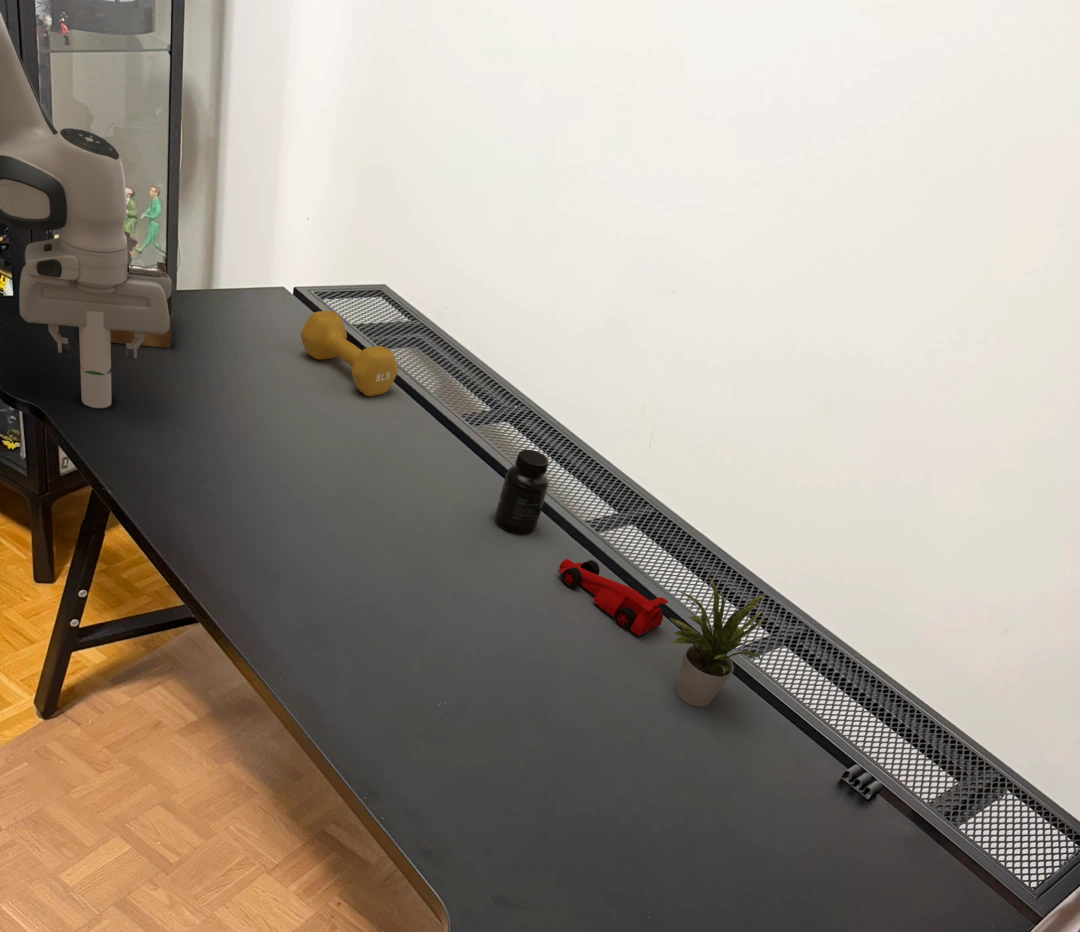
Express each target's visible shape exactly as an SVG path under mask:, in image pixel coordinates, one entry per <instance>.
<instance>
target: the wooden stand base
mask: <svg viewBox="0 0 1080 932" xmlns="http://www.w3.org/2000/svg"><path fill="white" fill-rule="evenodd" d="M156 268H159V269H161V271H162V272H164V273H166V274H167V275H168V271H167V268H166V265H165V262H162V261H156ZM161 276H164V275H162V274H161ZM172 297H173V291H172V292H171V295H170V297H169V298H168V299H167V305H168V311H169V322H170V328H169V330H168V331H167V332H166V333H165V334H155V333H145V339H144V341H143V342H142V344H141V345H140V346H142V347H143V346H145V347H152V348H153V347H154V348H164V349H165V348H166V349H171V344H172V343H171V341H172V339H171V338H172V302H173V301H172ZM110 334H111V344H122V345H126V343H132V341H133V340H134V338H135V335H134V332H132V331H120V330H110Z"/></svg>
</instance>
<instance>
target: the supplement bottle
mask: <svg viewBox="0 0 1080 932" xmlns="http://www.w3.org/2000/svg"><path fill="white" fill-rule="evenodd" d="M549 463H550V462H549V458H548V457H547V456H546V455H545V454H543V453H541V452H539V451H537V450H533V449H522V450H520V451H519V452H518V454H517V456H516V460H515V463H514V465H512V466H510V467H509V468H508V470H506V474H505V477H504V480H503V484H502V488H501V492H500V495H499V500H498V502H497V507H496V511H495V515H494V520H495V523H496V524H497V525H498V526H499V527H500V528H501V529H503V530H504V531H506V532H508V533H510V534H514V535H520V536H523V535H525V536H526V535H528V534H531V533H533V532H534V531H535V530H536V528H537V526H538V523H539V519H540V516H541V512H542V509H543V506H544V503H545V499H546V496H547V492H548V489H549V484H550V483H549V482H550V481H549V478H548V476H547V472H548V467H549Z"/></svg>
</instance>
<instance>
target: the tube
mask: <svg viewBox="0 0 1080 932" xmlns="http://www.w3.org/2000/svg"><path fill="white" fill-rule="evenodd" d="M86 315H87V325H86V327H78V340H79V341H78V342H79V343H78V344H79V369H80V394H81V402H82V403H83V404H84V405H85V406H87V407H90V408H93V409H105V408H108V407H110V406H111V405H112V402H113V401H112V369H111V368H112V345H111V344H112V343H111V334H110V330H109V329H105V328H104V325H103V317H104V312H95V311H86Z"/></svg>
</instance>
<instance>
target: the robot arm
mask: <svg viewBox="0 0 1080 932" xmlns="http://www.w3.org/2000/svg"><path fill="white" fill-rule="evenodd" d="M45 112H46V111H44V109H43V106H42V104H41V102H40V99H39V97H38V95H37V93H36V90H35V88H34V86H33V83H32V81H31V79H30V77H29V74H28V72H27V69H26V67H25V65H24V63H23V60H22V58H21V55H20V53H19V51H18V49H17V47H16V44H15V42H14V40H13V38H12V35H11V32H10V31H9V29H8V27H7V25H6V22H5V19H4V16H3V15H2V12H1V11H0V222H1V223H3V224H4V225H6V226H8V227H10V228H14V229H18V230H26V231H27V230H29V231H30V230H31V231H57V233H58V237H55V238H50V239H47V240H40V241H34V242H30V243H28V244H27V245H26V247H25V252H24V260H25V264H24V266H23V267H22V269H21V273H20V280H19V296H18V297H19V299H18V300H19V301H18V302H19V305H18V306H19V315H20V317H21V318H22V319H23V320H24V321H25V322H26V323H29V324H30V323H31V324H42V325H47V330H48V332H49V334H50V336H52V338H53V340H54V341H55V342H56V343H57V353H58V354H70V348H69V347H70V346H69V339H68V337H62V335H61V334H60V327H59V326H63V327H77V328H79V327H86V325H87V315H86V311H95V312H104V317H103V325H104V328H105V329H109V330H120V331H132V332H134V335H135V338H134V340H133V341H132V343H126V344H125V356H126V359H133V360H137V359H138V349H139V348H140V347H141V346H142V345H141V344H142V342H143V341H144V339H145V333H155V334H165V333H166V332H167V331H168V330H169V328H170V322H169V311H168V305H167V299H168V298H169V297H170V295H171V292H172V293H173V289H172V287H173V286H172V283H173V282H172V280H171V277H170V276H169V275H168V273H167V274H166V273H164V272H162V271H161V269H159V268H157V267H152V266H151V267H145V266H141V265H134V264H128V239H127V236H126V233H125V220H126V217H127V210H128V209H127V193H126V192H127V191H126V180H125V171H124V166H123V162H122V159H121V156H120V154H119V151H117V150H116V148H115V147H114V146H113V145H112V144H111V143H110V142H109V141H107V140H106V139H105V138H104V137H101V136H99V135H97V134H95V133H92V132H90V131H87V130H84V129H77V128H68V127H67V128H62V129H60V130H59V131H58V130H57V129H56V128H55V126H54V125H53V124H52V123H51V121H50V120H49V118H48V116H47V114H46V113H45ZM161 274H162V275H164V276H161Z"/></svg>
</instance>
